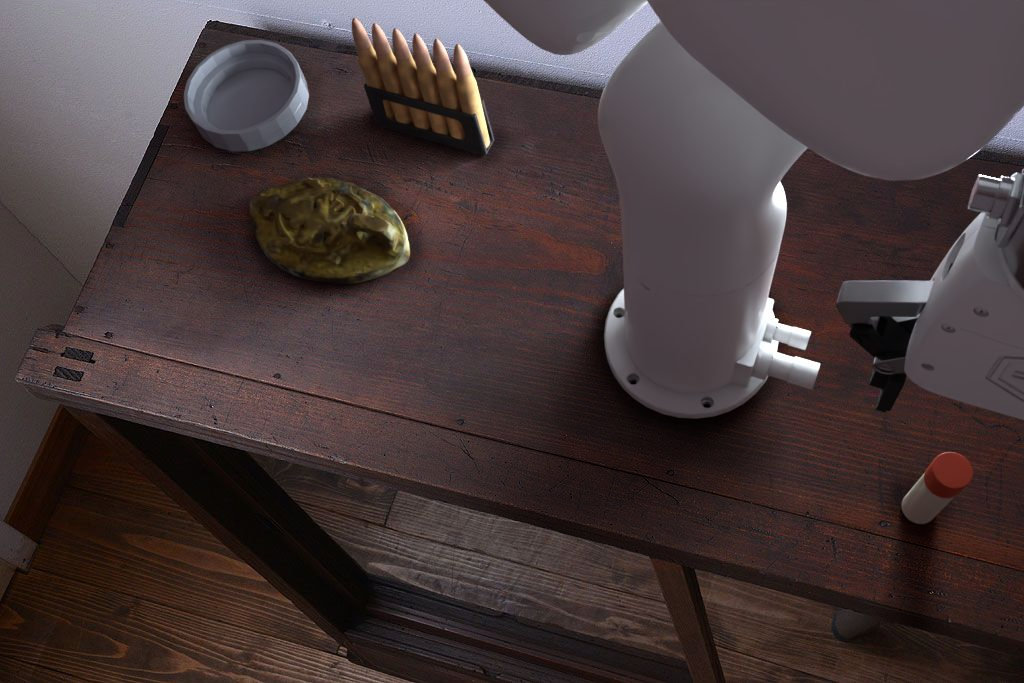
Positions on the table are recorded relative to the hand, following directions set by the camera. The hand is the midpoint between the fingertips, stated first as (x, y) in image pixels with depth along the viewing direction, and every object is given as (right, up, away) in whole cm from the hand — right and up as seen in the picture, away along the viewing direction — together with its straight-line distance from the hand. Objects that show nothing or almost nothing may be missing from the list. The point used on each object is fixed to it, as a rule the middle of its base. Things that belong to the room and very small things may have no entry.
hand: (983, 415), depth 50 cm
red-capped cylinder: (+3, -7, +15) cm, 16 cm away
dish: (-48, +25, +37) cm, 65 cm away
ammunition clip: (-31, +22, +33) cm, 51 cm away
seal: (-39, +13, +30) cm, 51 cm away
